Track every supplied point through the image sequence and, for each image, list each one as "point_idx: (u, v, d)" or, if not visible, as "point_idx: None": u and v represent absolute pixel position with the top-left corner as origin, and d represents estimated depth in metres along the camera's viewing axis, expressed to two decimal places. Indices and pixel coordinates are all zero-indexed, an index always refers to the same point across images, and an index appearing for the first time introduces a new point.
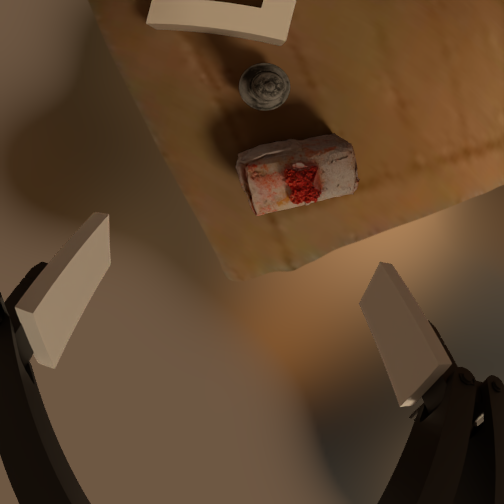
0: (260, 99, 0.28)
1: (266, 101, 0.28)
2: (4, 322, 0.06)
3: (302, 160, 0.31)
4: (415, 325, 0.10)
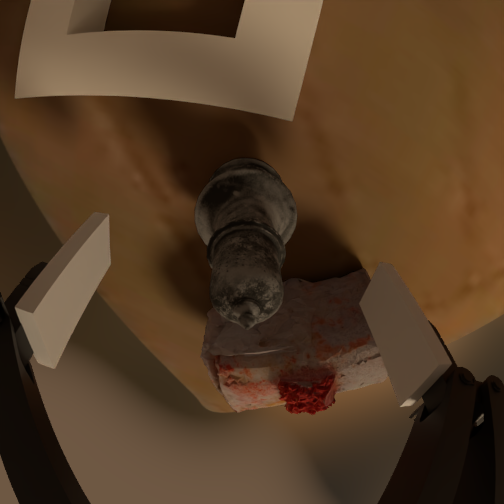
0: None
1: None
2: (4, 322, 0.06)
3: (310, 366, 0.18)
4: (415, 325, 0.10)
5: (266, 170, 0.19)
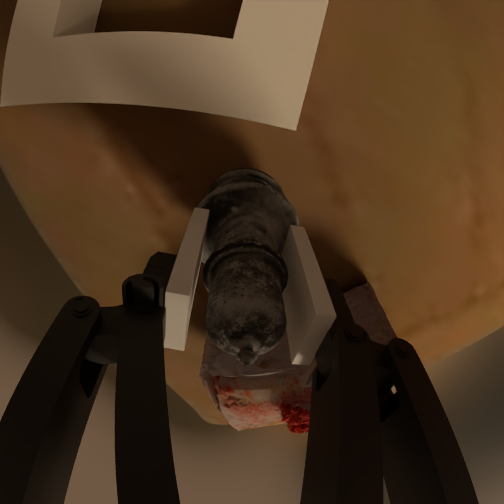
0: None
1: None
2: (156, 311, 0.08)
3: None
4: (304, 278, 0.11)
5: (266, 182, 0.18)
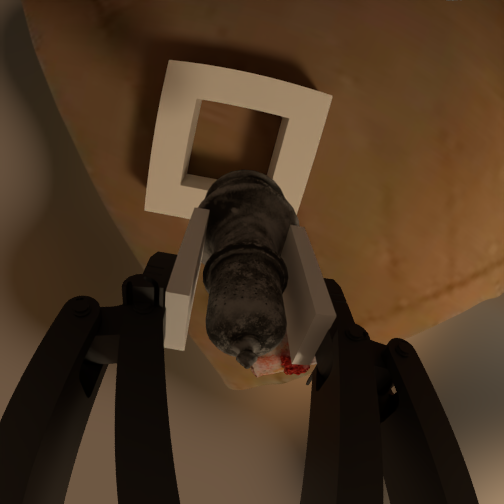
0: None
1: None
2: (156, 311, 0.08)
3: None
4: (304, 278, 0.11)
5: (266, 183, 0.18)
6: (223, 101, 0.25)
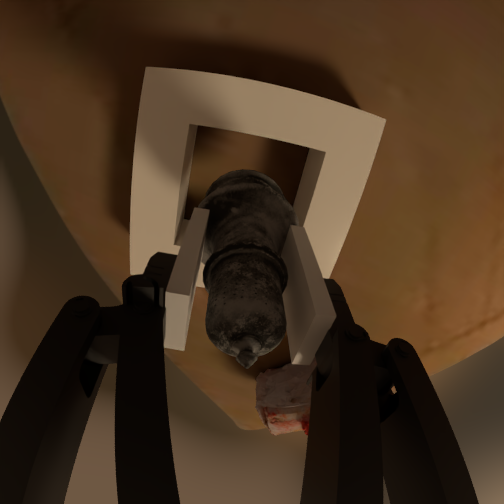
0: None
1: None
2: (156, 311, 0.08)
3: None
4: (304, 278, 0.11)
5: (266, 183, 0.18)
6: (229, 127, 0.18)
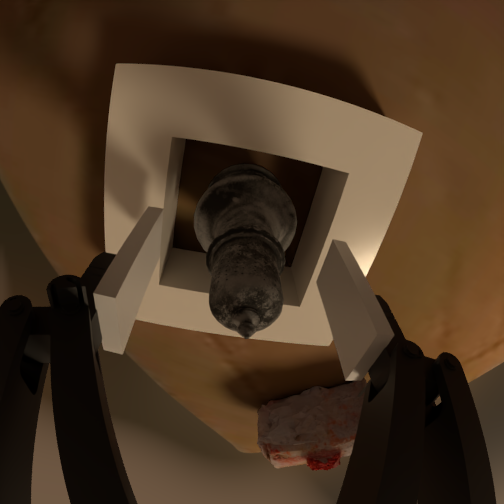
0: None
1: None
2: (82, 310, 0.07)
3: (326, 449, 0.26)
4: (358, 296, 0.11)
5: (265, 176, 0.19)
6: (224, 141, 0.14)
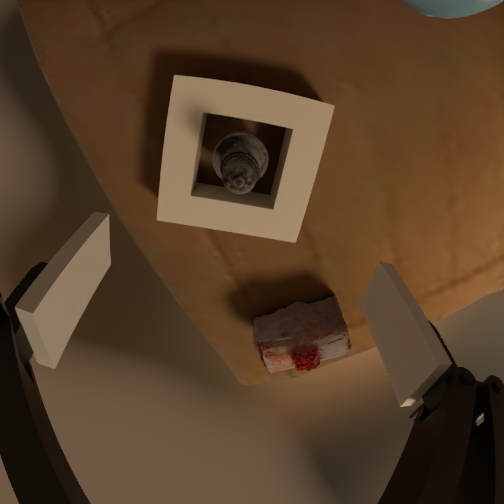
0: None
1: None
2: (4, 322, 0.06)
3: (305, 345, 0.39)
4: (415, 325, 0.10)
5: None
6: (229, 114, 0.27)
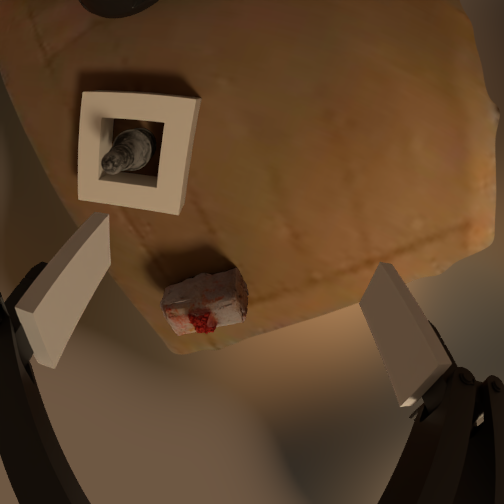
0: None
1: (121, 169, 0.34)
2: (4, 322, 0.06)
3: (199, 308, 0.45)
4: (415, 325, 0.10)
5: (146, 132, 0.38)
6: (118, 117, 0.33)
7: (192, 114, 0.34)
